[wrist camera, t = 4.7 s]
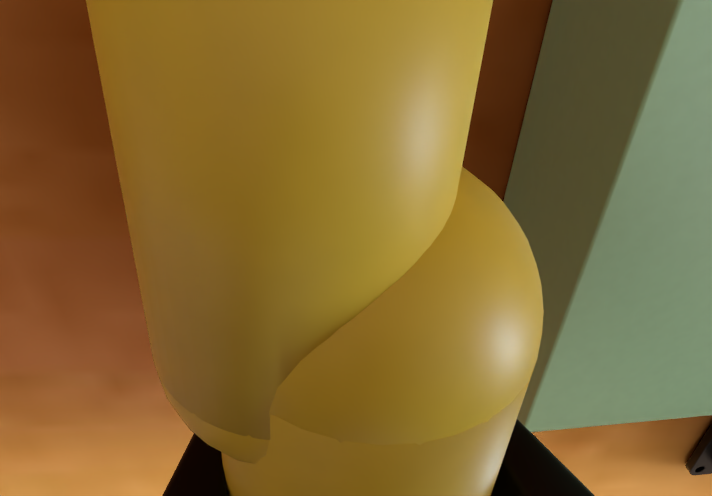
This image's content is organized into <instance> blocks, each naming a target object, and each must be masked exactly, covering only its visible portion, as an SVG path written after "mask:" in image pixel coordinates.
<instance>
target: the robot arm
mask: <svg viewBox="0 0 712 496" xmlns="http://www.w3.org/2000/svg"><path fill="white" fill-rule="evenodd" d="M685 466H686V468H687V469H688V471H689V472H690V474H691V475H702V474H711V473H712V425H711V426H710V428H709V429H708V431H707V432H706V434H705V435H704V437H703V438H702V440H701V441H700V443H699V445H698V446H697V448H696V449H695V451H694V452H693V454H692V455H691V457H690V458H689V460H688V461H687V463H686V465H685ZM163 496H228V492H227V482H226V478H225V473H224V468H223V463H222V454H221V451H219V450H217V449H215V448H213V447H211V446H209V445H208V444H207V443H205V442H204V441H203V440H202V439H201V438H199V437H198V436H197V435H196V434H195V433H194V435H193V437H192V439H191V441H190V443H189V444H188V446H187V448H186V450H185V452H184V454H183V456H182V458H181V460H180V462H179V464H178V466H177V468H176V470H175V472H174V474H173V476H172V478H171V480H170V482H169V484H168V486H167V488H166V490H165V492H164V494H163ZM491 496H594V495H593V494H592V493H591V492H590V491H589V490H588V489H587V488H586V487H585V486H584V485H583V484H582V483H581V482H580V481H579V480H578V479H577V478H576V477H575V476H574V475H573V474H572V473H571V472H570V471H569V470H568V469H567V468H566V467H565V466H564V465H563V464H562V463H561V462H560V461H559V460H558V459H557V458H556V457H555V456H554V455H553V454H552V453H551V452H550V451H549V450H548V449H547V448H546V447H545V446H544V445H543V444H542V443H541V442H540V441H539V440H538V439H537V438H536V437H535V436H534V435H533V434H532V433H531V432H530V431H529V430H528V429H527V428H526V427H525V426H524V425H523V424H522V423H521V422H520V421H519V420H518V419H517V420H516V423H515V426H514V429H513V431H512V434H511V437H510V440H509V443H508V446H507V449H506V452H505V455H504V458H503V461H502V464H501V467H500V470H499V473H498V475H497V478H496V481H495V484H494V487H493V490H492V493H491Z"/></svg>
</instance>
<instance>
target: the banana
mask: <svg viewBox="0 0 712 496" xmlns="http://www.w3.org/2000/svg"><path fill="white" fill-rule="evenodd" d="M86 4H87V9H88V15H89V20H90V25H91V31H92V36H93V41H94V47H95V52H96V57H97V63H98V68H99V73H100V79H101V84H102V89H103V95H104V100H105V105H106V111H107V116H108V121H109V127H110V132H111V137H112V143H113V148H114V153H115V159H116V164H117V169H118V175H119V180H120V185H121V191H122V196H123V201H124V207H125V212H126V217H127V223H128V228H129V233H130V239H131V244H132V249H133V255H134V260H135V265H136V271H137V276H138V281H139V287H140V292H141V297H142V303H143V308H144V313H145V319H146V324H147V329H148V335H149V340H150V345H151V351H152V356H153V361H154V364H155V367H156V370H157V373H158V375H159V378H160V381H161V384H162V386H163V389H164V392H165V394H166V397H167V399H168V400H169V402H170V403H171V405H172V406H173V407H174V409H175V410H176V412H177V413H178V414H179V416H180V417H181V418H182V420H183V421H184V422H185V423H186V425H187V426H188V427H189V429H190V430H191V431H192V432H194V433H195V434H196V435H197V436H198V437H199V438H201V439H202V440H203V441H204V442H205V443H207V444H208V445H209V446H211V447H213V448H215V449H217V450H219V451H221V454H222V463H223V468H224V473H225V478H226V482H227V492H228V496H491V493H492V490H493V487H494V484H495V481H496V478H497V475H498V473H499V470H500V467H501V464H502V461H503V458H504V455H505V452H506V449H507V446H508V443H509V440H510V437H511V434H512V431H513V429H514V426H515V423H516V420H517V417H518V414H519V411H520V408H521V405H522V402H523V399H524V396H525V393H526V390H527V387H528V384H529V382H530V379H531V376H532V373H533V370H534V367H535V364H536V361H537V357H538V352H539V347H540V341H541V336H542V327H543V313H544V310H543V297H542V285H541V280H540V276H539V272H538V268H537V264H536V261H535V259H534V256H533V253H532V250H531V247H530V245H529V242H528V239H527V238H526V236H525V234H524V232H523V230H522V229H521V227H520V225H519V223H518V222H517V221H516V219H515V218H514V216H513V215H512V213H511V212H510V210H509V209H508V208H507V206H506V205H505V203H504V202H503V201H502V200H501V199H500V198H499V197H498V196H497V195H496V193H495V192H494V191H493V190H491V189H490V188H489V187H488V186H486V185H485V184H484V183H483V182H482V181H480V180H479V179H478V178H477V177H475V176H474V175H473V174H471V173H470V172H469V171H468V170H466V169H465V168H464V167H462V164H463V159H464V153H465V148H466V143H467V137H468V132H469V127H470V121H471V116H472V111H473V105H474V100H475V95H476V89H477V84H478V79H479V73H480V68H481V63H482V57H483V52H484V47H485V41H486V36H487V31H488V25H489V20H490V15H491V9H492V4H493V0H86Z"/></svg>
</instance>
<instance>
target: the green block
mask: <svg viewBox="0 0 712 496" xmlns="http://www.w3.org/2000/svg"><path fill="white" fill-rule="evenodd" d="M503 202H504V203H505V205H506V206H507V208H508V209H509V210H510V212H511V213H512V215H513V216H514V218H515V219H516V221H517V222H518V223H519V225H520V227H521V229H522V230H523V232H524V234H525V236H526V238H527V239H528V242H529V245H530V247H531V250H532V253H533V256H534V259H535V261H536V264H537V268H538V272H539V276H540V280H541V285H542V297H543V310H544V313H543V327H542V336H541V341H540V347H539V352H538V357H537V361H536V364H535V367H534V370H533V373H532V376H531V379H530V382H529V384H528V387H527V390H526V393H525V396H524V399H523V402H522V405H521V408H520V411H519V414H518V417H517V419H518V420H519V421H520V422H521V423H522V424H523V425H524V426H525V427H526V428H527V429H528V430H529V431H530V432H539V431H549V430H560V429H570V428H581V427H592V426H602V425H613V424H623V423H634V422H644V421H655V420H666V419H676V418H687V417H697V416H708V415H712V0H553V2H552V6H551V10H550V14H549V18H548V22H547V26H546V30H545V34H544V38H543V42H542V46H541V50H540V54H539V58H538V62H537V67H536V71H535V75H534V79H533V83H532V87H531V91H530V95H529V99H528V103H527V107H526V111H525V115H524V119H523V123H522V128H521V132H520V136H519V140H518V144H517V148H516V152H515V156H514V160H513V164H512V168H511V172H510V176H509V180H508V184H507V188H506V193H505V197H504V201H503Z"/></svg>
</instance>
